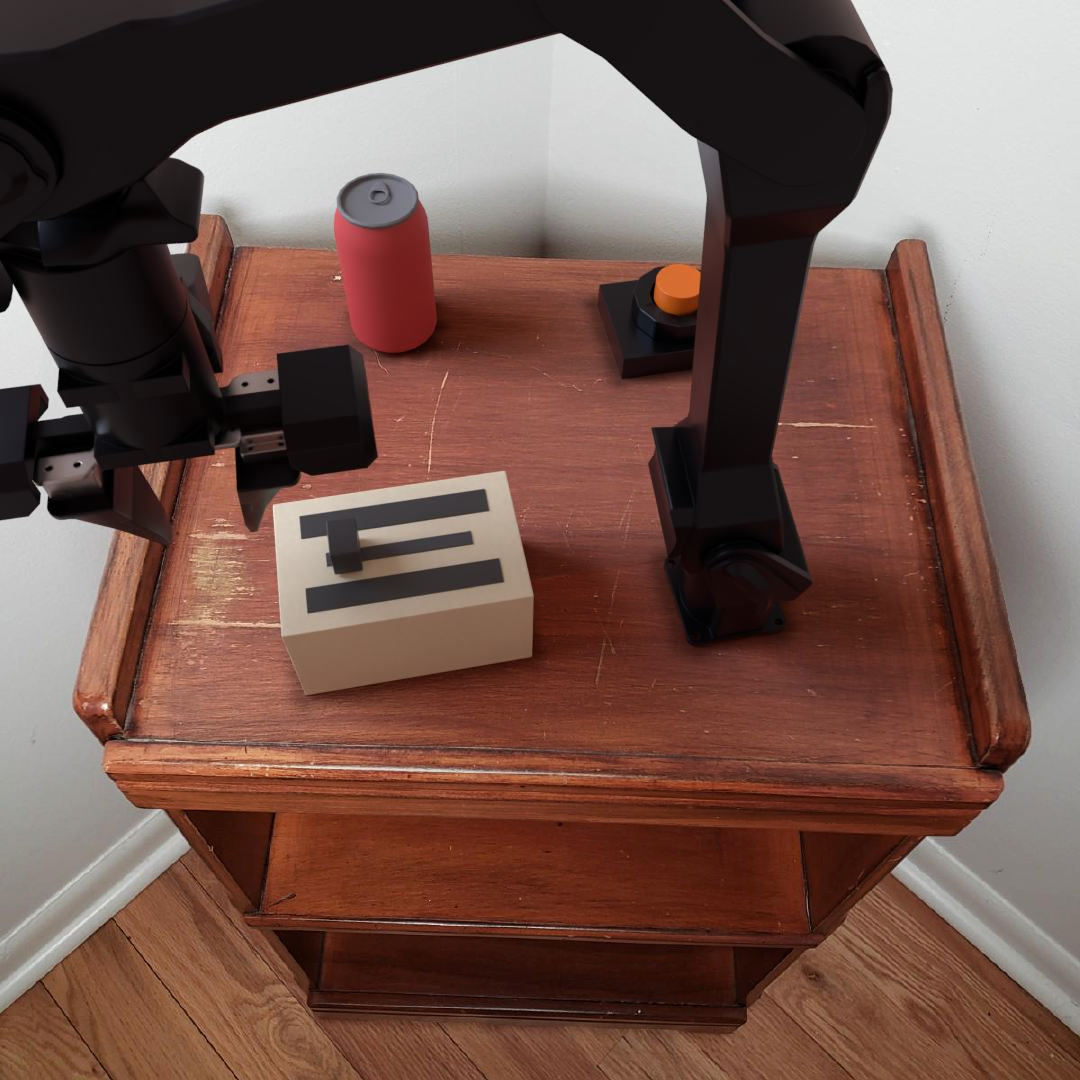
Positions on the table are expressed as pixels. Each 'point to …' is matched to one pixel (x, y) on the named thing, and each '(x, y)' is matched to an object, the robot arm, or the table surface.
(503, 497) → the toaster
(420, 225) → the beer can
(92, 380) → the robot arm
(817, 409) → the table surface
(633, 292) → the control block
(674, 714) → the table surface
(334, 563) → the slider
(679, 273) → the button
